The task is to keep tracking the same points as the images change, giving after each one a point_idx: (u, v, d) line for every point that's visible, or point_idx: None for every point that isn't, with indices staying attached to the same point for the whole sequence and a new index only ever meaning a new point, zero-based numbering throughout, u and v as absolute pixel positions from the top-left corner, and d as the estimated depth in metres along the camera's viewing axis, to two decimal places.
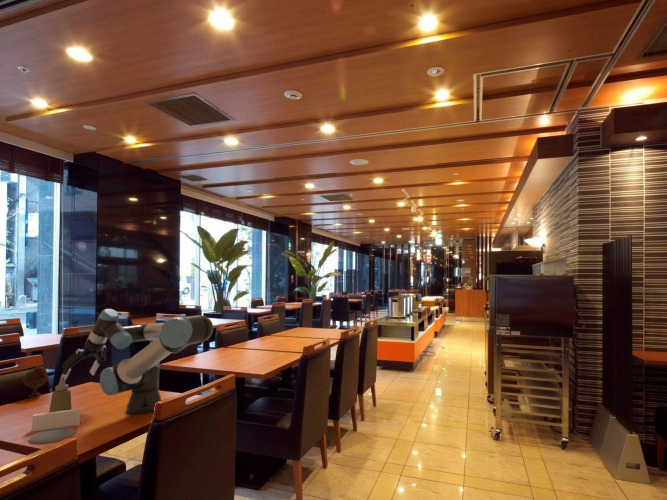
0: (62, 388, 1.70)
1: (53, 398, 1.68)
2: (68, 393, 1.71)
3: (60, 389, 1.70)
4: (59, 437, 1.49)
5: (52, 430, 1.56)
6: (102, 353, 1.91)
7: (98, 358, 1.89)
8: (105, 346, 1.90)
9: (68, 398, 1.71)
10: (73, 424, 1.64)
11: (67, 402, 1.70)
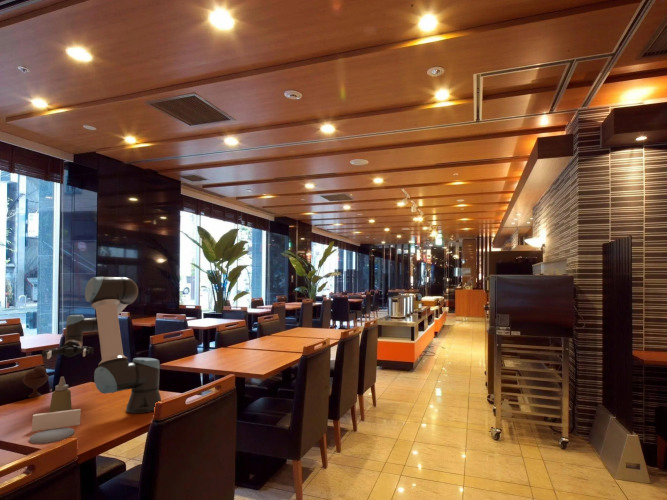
0: (62, 388, 1.70)
1: (53, 398, 1.68)
2: (68, 393, 1.71)
3: (60, 389, 1.69)
4: (59, 437, 1.49)
5: (52, 430, 1.56)
6: None
7: (81, 348, 1.93)
8: None
9: (68, 398, 1.71)
10: (73, 424, 1.64)
11: (67, 402, 1.70)
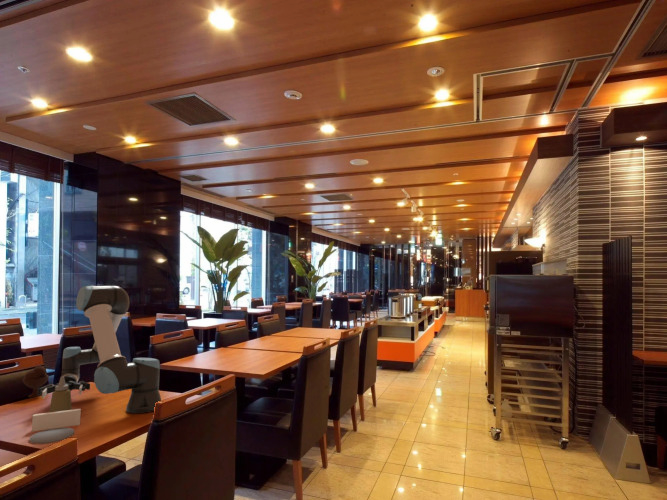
0: (62, 388, 1.70)
1: (53, 398, 1.68)
2: (68, 393, 1.71)
3: (60, 389, 1.70)
4: (59, 437, 1.49)
5: (52, 430, 1.56)
6: (82, 384, 1.90)
7: (77, 383, 1.88)
8: None
9: (68, 398, 1.71)
10: (73, 424, 1.64)
11: (67, 402, 1.70)
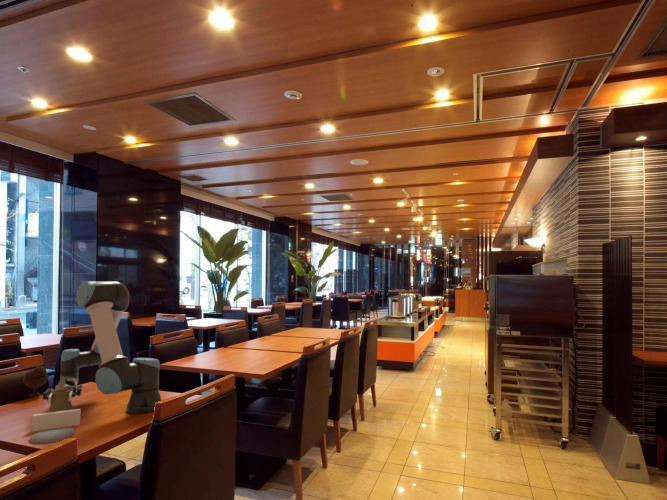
0: (62, 388, 1.70)
1: (53, 398, 1.68)
2: (68, 393, 1.71)
3: (60, 389, 1.70)
4: (59, 437, 1.49)
5: (52, 430, 1.56)
6: (77, 389, 1.81)
7: (71, 389, 1.78)
8: (81, 387, 1.85)
9: (68, 398, 1.71)
10: (73, 424, 1.64)
11: (67, 402, 1.70)
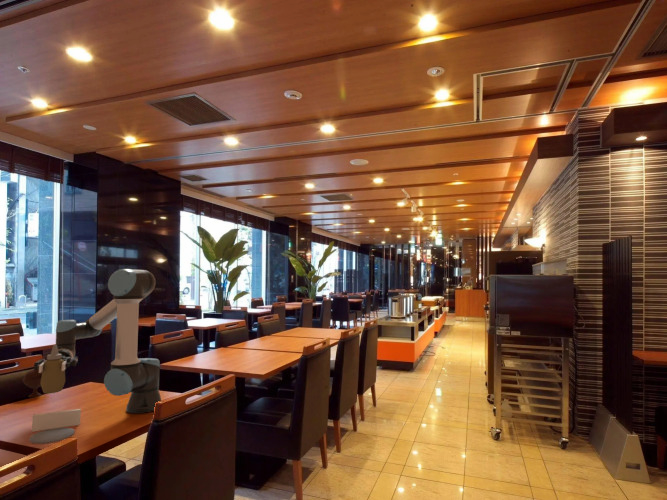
0: (54, 357, 1.55)
1: (45, 367, 1.53)
2: (61, 363, 1.56)
3: (52, 358, 1.55)
4: (59, 437, 1.49)
5: (52, 430, 1.56)
6: None
7: (65, 359, 1.63)
8: None
9: (61, 368, 1.56)
10: (73, 424, 1.64)
11: (60, 372, 1.55)
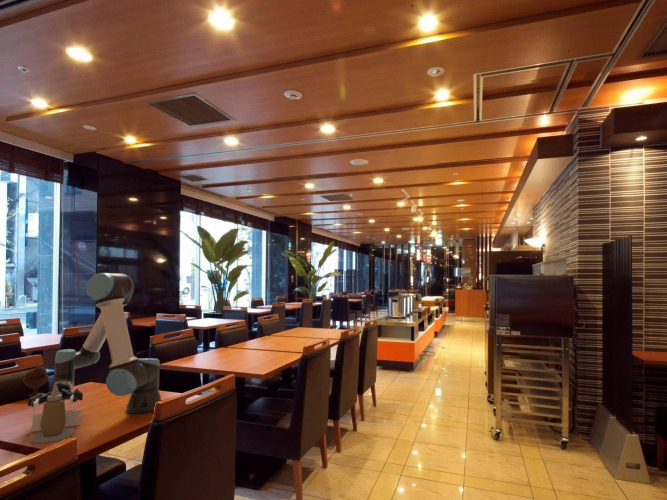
0: (55, 398, 1.52)
1: (45, 410, 1.50)
2: (62, 404, 1.53)
3: (53, 399, 1.51)
4: (59, 437, 1.49)
5: None
6: None
7: (69, 393, 1.61)
8: (77, 391, 1.67)
9: (62, 409, 1.53)
10: (73, 424, 1.64)
11: (61, 413, 1.52)
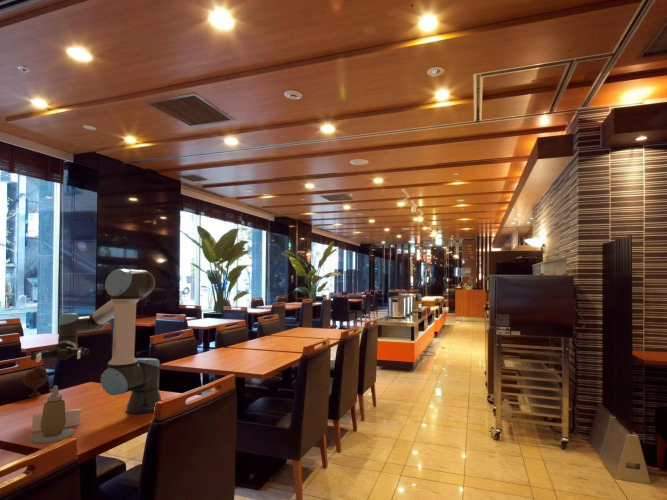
0: (55, 398, 1.52)
1: (45, 410, 1.50)
2: (62, 404, 1.53)
3: (53, 400, 1.51)
4: (59, 437, 1.49)
5: None
6: (80, 350, 1.73)
7: (75, 349, 1.70)
8: None
9: (62, 410, 1.53)
10: (73, 424, 1.64)
11: (61, 414, 1.52)
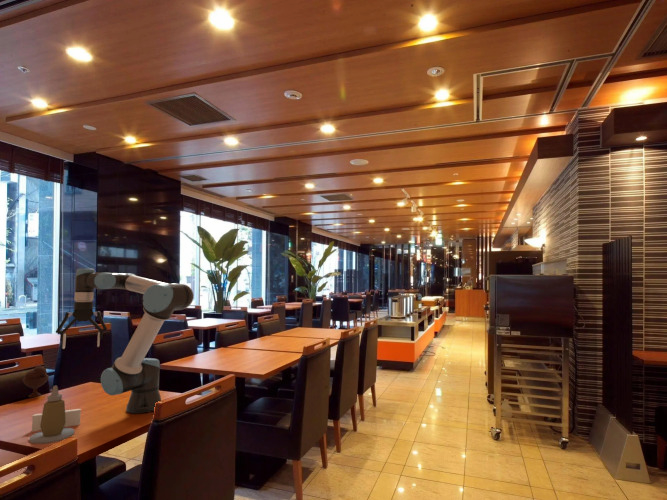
0: (55, 398, 1.52)
1: (45, 410, 1.50)
2: (62, 404, 1.53)
3: (53, 400, 1.51)
4: (59, 437, 1.49)
5: None
6: (99, 320, 1.89)
7: (94, 324, 1.87)
8: (98, 311, 1.89)
9: (62, 410, 1.53)
10: (73, 424, 1.64)
11: (61, 414, 1.52)
